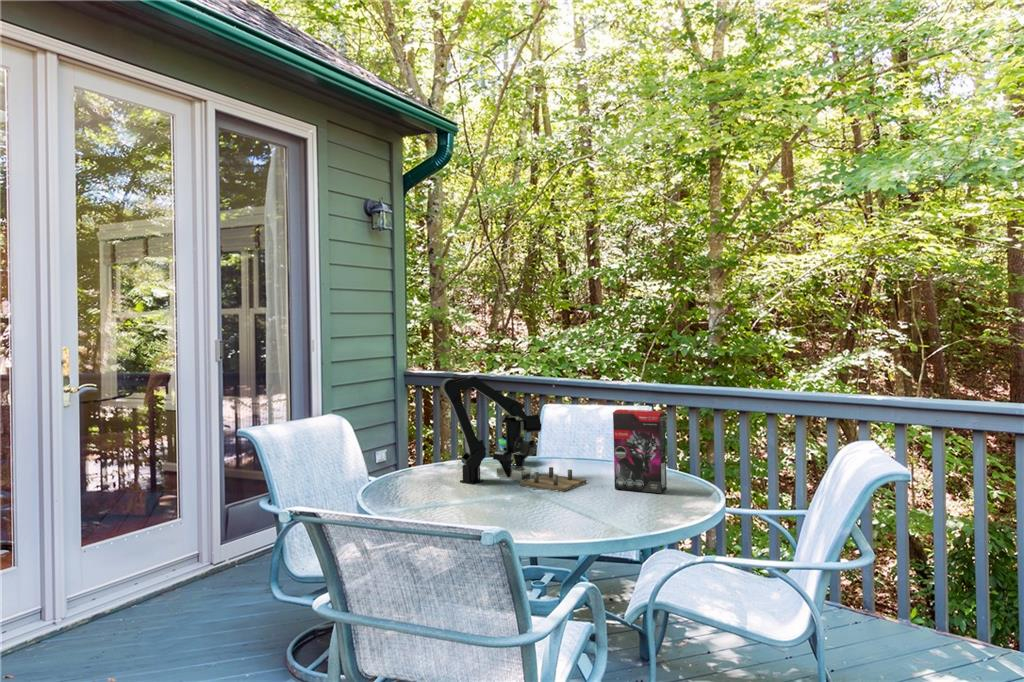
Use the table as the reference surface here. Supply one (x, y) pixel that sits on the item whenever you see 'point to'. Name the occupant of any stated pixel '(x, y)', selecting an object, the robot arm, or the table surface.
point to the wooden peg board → (553, 481)
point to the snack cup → (503, 444)
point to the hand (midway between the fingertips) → (514, 475)
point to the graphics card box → (639, 450)
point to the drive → (515, 473)
